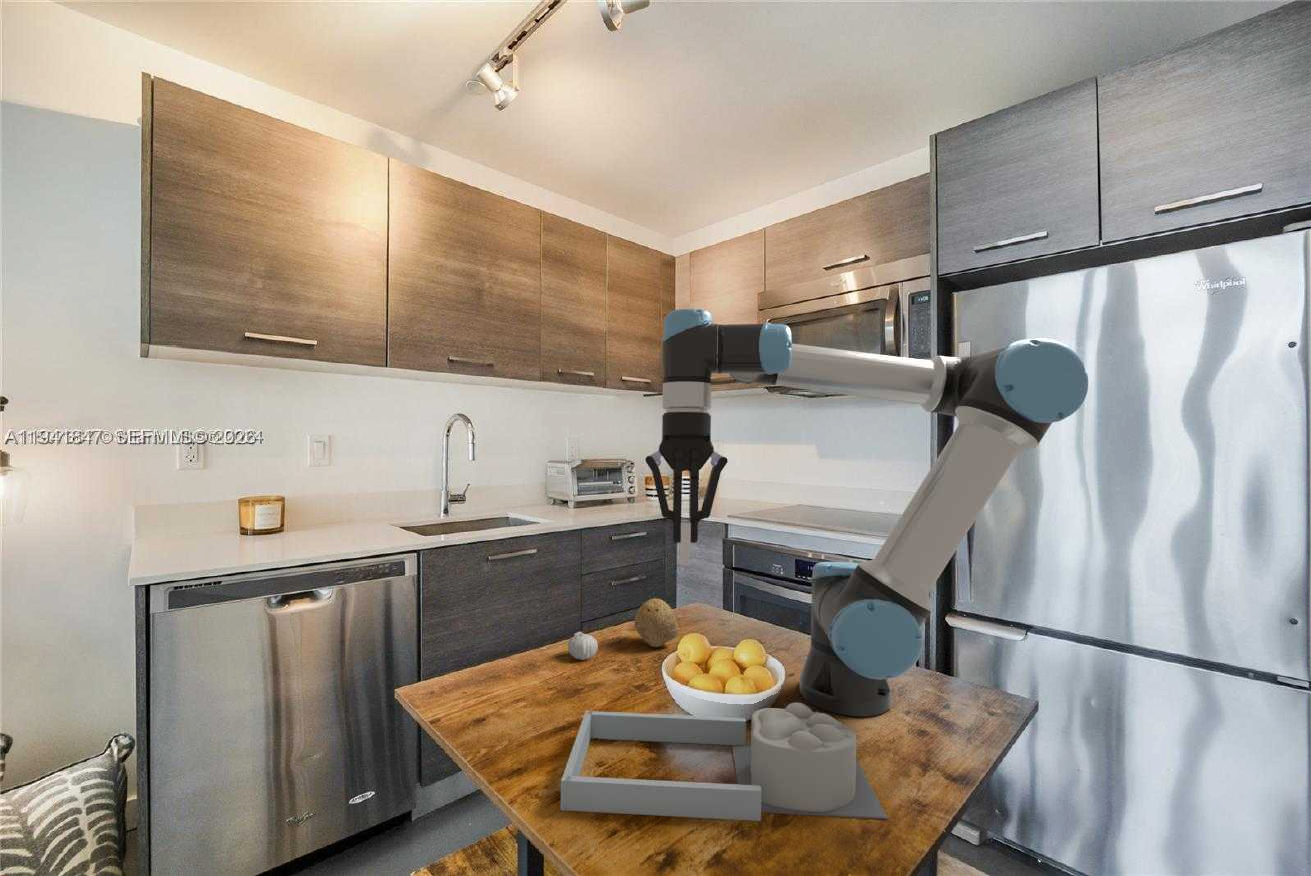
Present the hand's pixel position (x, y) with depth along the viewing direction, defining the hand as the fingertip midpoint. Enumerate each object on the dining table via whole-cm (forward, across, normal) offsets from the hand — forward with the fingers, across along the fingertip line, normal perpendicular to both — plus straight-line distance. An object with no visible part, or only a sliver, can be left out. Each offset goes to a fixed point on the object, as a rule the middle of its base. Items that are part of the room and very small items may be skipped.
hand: (684, 563), depth 88 cm
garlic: (+25, +18, -25) cm, 40 cm away
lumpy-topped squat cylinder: (+25, -14, +16) cm, 33 cm away
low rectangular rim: (+25, +3, +13) cm, 28 cm away
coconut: (+25, +4, -32) cm, 41 cm away
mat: (+25, -15, +14) cm, 32 cm away
